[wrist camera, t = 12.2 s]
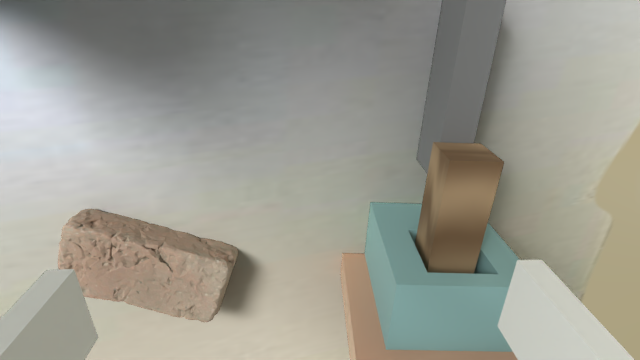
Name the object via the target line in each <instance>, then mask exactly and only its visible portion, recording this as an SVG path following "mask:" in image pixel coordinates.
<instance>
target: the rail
mask: <svg viewBox="0 0 640 360" xmlns="http://www.w3.org/2000/svg"><path fill="white" fill-rule="evenodd" d="M505 4H506V0H442V6H441V12H440V18H439V24H438V30H437V36H436V42H435V48H434V55H433V61H432V67H431V73H430V79H429V85H428V91H427V97H426V104H425V110H424V116H423V122H422V128H421V134H420V140H419V146H418V153H417V161H418V162H419V163H420V165H421V166H422V167H423V169H424V170H425V171H426V173H427V174H428V168H429V163H430V157H431V151H432V146H433V142H444V143H474V140H475V136H476V132H477V127H478V123H479V118H480V114H481V110H482V105H483V101H484V96H485V92H486V87H487V83H488V79H489V74H490V70H491V65H492V61H493V57H494V52H495V48H496V43H497V39H498V34H499V30H500V26H501V21H502V17H503V12H504V8H505Z"/></svg>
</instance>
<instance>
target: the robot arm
mask: <svg viewBox="0 0 640 360" xmlns="http://www.w3.org/2000/svg"><path fill="white" fill-rule="evenodd" d="M498 328H499V329H500V331H501V333H502V334H503V336H504V338H505V339H506V341H507V343H508V344H509V346H510V348H511V349H512V351H513V353H514V354H515V356H516V358H517V359H518V360H634V358H633V357H632V356H631V355H630V354H629V353H628V352H627V351H626V350H625V349H624V348H623V347H622V346H621V344H620V343H619V342H618V341H617V340H616V339H615V338H614V337H613V336H612V335H611V334H610V333H609V332H608V331H607V329H605V327H604V326H603V325H602V324H601V323H600V322H599V321H598V320H597V319H596V318H595V317H594V316H593V314H592V313H591V312H590V311H589V310H588V309H587V308H586V307H585V306H584V305H583V304H582V302H581V301H580V300H579V299H578V298H577V297H576V296H575V295H574V294H573V293H572V292H571V291H570V290H569V288H568V287H567V286H566V285H565V284H564V283H563V282H562V281H561V280H560V279H559V278H558V277H557V276H556V274H555V273H554V272H553V271H552V270H551V269H550V268H549V267H548V266H547V265H546V264H545V263H544V262H543V260H517V263H516V266H515V269H514V272H513V276H512V279H511V282H510V286H509V289H508V292H507V296H506V299H505V302H504V306H503V309H502V312H501V316H500V319H499V322H498ZM97 339H98V335H97V332H96V330H95V327H94V324H93V321H92V318H91V315H90V313H89V310H88V307H87V304H86V301H85V298H84V296H83V293H82V290H81V287H80V284H79V282H78V279H77V276H76V273H75V270H74V269H61V270H46V271H45V272H44V273H43V274H42V275H41V276H40V277H39V279H38V280H37V281H36V282H35V283H34V284H33V285H32V286H31V287H30V288H29V289H28V290H27V291H26V292H25V293H24V294H23V295H22V296H21V297H20V299H19V300H18V301H17V302H16V303H15V304H14V305H13V306H12V307H11V308H10V309H9V310H8V311H7V312H6V313H5V314H4V315H3V316H2V317H1V318H0V360H85V358H86V357H87V355H88V353H89V352H90V350H91V348H92V347H93V345H94V344H95V342H96V340H97Z"/></svg>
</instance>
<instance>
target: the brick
mask: <svg viewBox="0 0 640 360" xmlns="http://www.w3.org/2000/svg"><path fill="white" fill-rule="evenodd" d="M61 238H62V239H61V241H60V243H59V245H60V247H59V255H58V268H59V270H61V269H74V270H75V273H76V276H77V279H78V282H79V284H80V287H81V290H82V293H83V296H85V297H90V298H97V299H103V300H111V301H117V302H120V301H124V302H126V303H128V304H131V305H135V306H138V307H141V308H145V309H149V310H154V311H156V312H160V313H164V314H169V315H171V316H175V317H185V318H186V319H190V320H199V321H201V322H209V321H211V320H212V319H213V318H214V316H215V315H216V314H217V313H218V311H219V309H220V307H221V304H222V301H223V297H224V295H225V291H226V289H227V286H228V282H229V279H230V276H231V273H232V270H233V267H234V265H235V263H236V261H237V256H238V249H237V248H236V247H233V246H232V245H228V244H225V243H223V242H220V241H215V240H211V239H203V238H201V239H200V238H199V237H196V236H194V235H191V234H188V233H185V232H180V231H174V230H171V229H169V228H167V227H162V226H158V225H155V224H148V223H147V222H144V221H141V220H137V219H132V218H129V217H125V216H121V215H118V214H112V213H108V212H102V211H99V210H94V209H85V210H82V211H80V212H79V213H78V214H77V215H75V216H73V217H72V218H71V219H70V220H69V221H68V223H66V224H65V225H64V226H63V228H62V235H61Z"/></svg>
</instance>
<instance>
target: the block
mask: <svg viewBox="0 0 640 360" xmlns="http://www.w3.org/2000/svg"><path fill="white" fill-rule="evenodd" d="M421 207H422V204H407V203H377V202H371V203H370V211H369V220H368V229H367V237H366V246H365V258H366V262H367V267H368V271H369V276H370V280H371V285H372V289H373V294H374V298H375V303H376V307H377V312H378V316H379V321H380V325H381V330H382V334H383V338H384V343H385V347H386V350H437V351H495V352H513V351H512V349H511V348H510V346H509V344H508V343H507V341H506V339H505V338H504V336H503V334H502V333H501V331H500V329H499V328H498V322H499V319H500V316H501V312H502V309H503V306H504V302H505V299H506V296H507V292H508V289H509V286H510V282H511V279H512V276H513V272H514V269H515V266H516V263H517V260H520V259H519V258H518V257H517V256H516V255H515V254H514V252H513V251H512V250H511V249H510V248H509V247H508V245H507V244H506V243H505V242H504V241H503V240H502V238H501V237H500V236H499V235H498V234H497V233H496V231H495V230H494V229H493V228H492V227H491V226H490V224H489V223H487V227H486V231H485V234H484V238H483V242H482V245H481V249H480V253H479V256H478V260H477V264H476V268H475V271H474V274H468V273H428V272H427V270H426V268H425V266H424V264H423V262H422V259H421V257H420V255H419V253H418V251H417V248H416V246H415V241H416V235H417V229H418V224H419V218H420V213H421Z"/></svg>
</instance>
